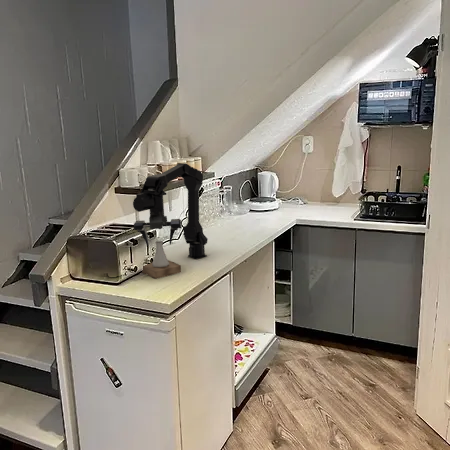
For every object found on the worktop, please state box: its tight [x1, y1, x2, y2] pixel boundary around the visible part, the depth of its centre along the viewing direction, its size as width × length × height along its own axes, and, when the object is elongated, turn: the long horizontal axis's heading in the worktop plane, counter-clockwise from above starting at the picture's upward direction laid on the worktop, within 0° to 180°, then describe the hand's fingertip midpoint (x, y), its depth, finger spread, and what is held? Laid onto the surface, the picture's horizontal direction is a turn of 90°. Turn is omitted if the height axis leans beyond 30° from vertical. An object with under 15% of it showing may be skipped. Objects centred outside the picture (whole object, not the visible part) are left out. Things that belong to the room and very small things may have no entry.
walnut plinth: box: [141, 259, 182, 280], centre depth 189 cm, size 12×12×3 cm
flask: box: [151, 240, 169, 267], centre depth 187 cm, size 7×7×10 cm
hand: (159, 245), depth 186 cm, fingers open, 9 cm apart
